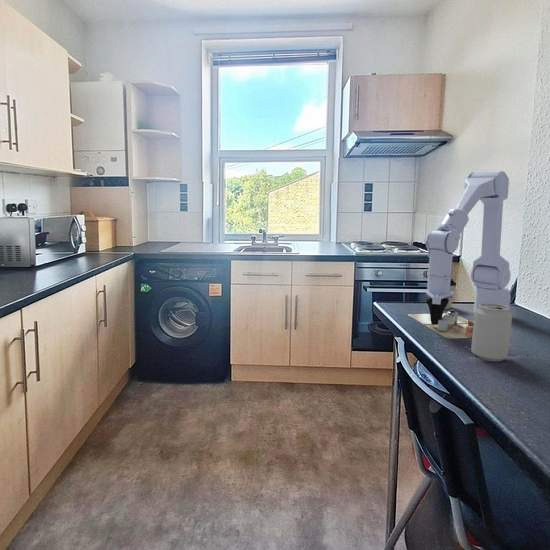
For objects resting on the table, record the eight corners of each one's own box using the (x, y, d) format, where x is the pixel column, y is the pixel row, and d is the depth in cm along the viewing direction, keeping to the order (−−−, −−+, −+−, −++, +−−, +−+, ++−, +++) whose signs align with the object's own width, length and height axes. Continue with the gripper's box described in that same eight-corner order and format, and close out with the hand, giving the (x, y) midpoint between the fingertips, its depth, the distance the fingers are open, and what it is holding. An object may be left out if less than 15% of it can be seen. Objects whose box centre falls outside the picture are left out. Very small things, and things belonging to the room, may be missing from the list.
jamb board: (453, 315, 133) (454, 300, 132) (501, 339, 111) (503, 321, 110) (406, 316, 131) (408, 301, 130) (446, 341, 109) (448, 323, 108)
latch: (447, 320, 123) (448, 310, 123) (458, 322, 122) (459, 312, 121) (436, 329, 115) (437, 318, 114) (448, 332, 113) (449, 320, 112)
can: (511, 364, 94) (518, 310, 92) (475, 361, 96) (480, 308, 94) (501, 352, 102) (507, 302, 99) (467, 349, 103) (472, 300, 101)
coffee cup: (432, 305, 146) (434, 276, 144) (454, 308, 143) (457, 278, 141) (430, 310, 140) (432, 279, 138) (453, 313, 137) (456, 281, 135)
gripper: (455, 281, 108) (450, 333, 110) (455, 272, 121) (451, 319, 123) (425, 278, 111) (421, 330, 113) (429, 270, 124) (425, 316, 126)
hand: (435, 324), depth 118 cm, fingers closed, pressing on latch
